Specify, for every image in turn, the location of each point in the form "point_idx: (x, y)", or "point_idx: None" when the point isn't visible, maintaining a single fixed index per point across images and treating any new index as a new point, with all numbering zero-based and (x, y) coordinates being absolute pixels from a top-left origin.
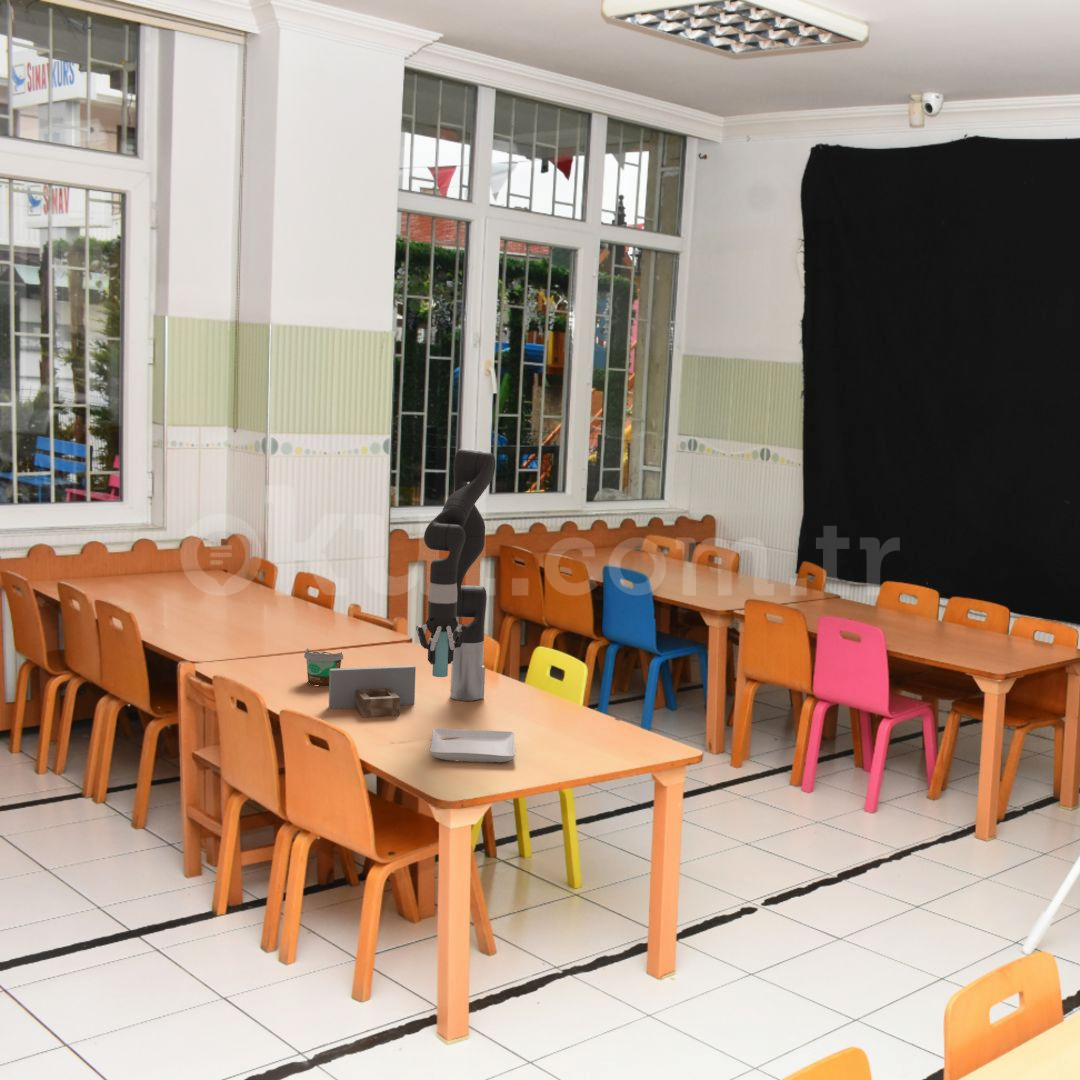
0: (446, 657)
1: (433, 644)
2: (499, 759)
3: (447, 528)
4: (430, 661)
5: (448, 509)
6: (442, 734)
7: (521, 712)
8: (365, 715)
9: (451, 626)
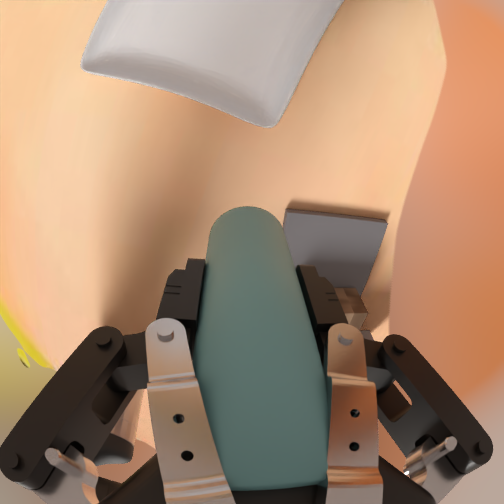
0: (225, 273)
1: (347, 364)
2: None
3: None
4: (322, 280)
5: None
6: (254, 109)
7: (44, 264)
8: (353, 290)
9: None
